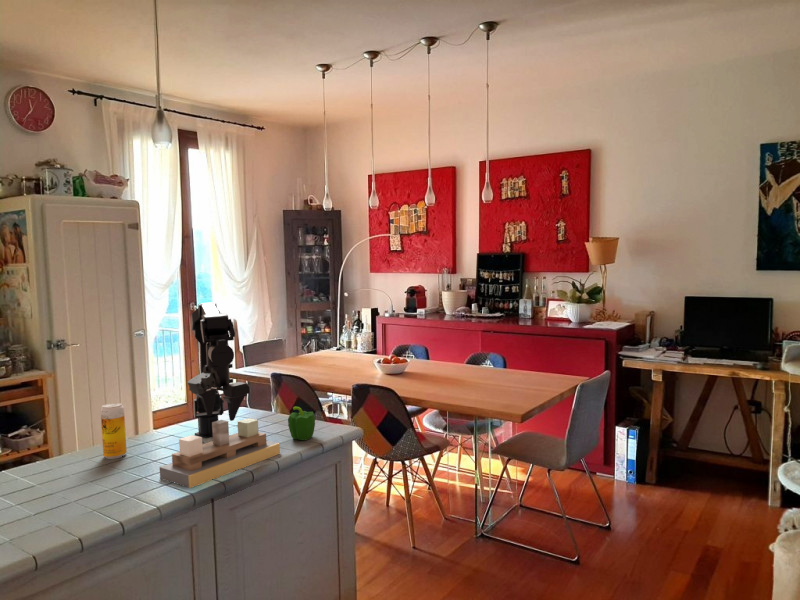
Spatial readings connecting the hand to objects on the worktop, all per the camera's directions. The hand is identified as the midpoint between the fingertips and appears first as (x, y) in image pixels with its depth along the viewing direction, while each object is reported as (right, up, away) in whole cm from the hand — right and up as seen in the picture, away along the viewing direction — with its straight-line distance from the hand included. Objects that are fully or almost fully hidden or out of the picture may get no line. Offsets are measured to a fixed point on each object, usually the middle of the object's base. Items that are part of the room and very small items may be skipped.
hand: (220, 418), depth 163 cm
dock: (0, -13, +1) cm, 13 cm away
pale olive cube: (+5, -6, +8) cm, 12 cm away
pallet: (0, -10, +1) cm, 10 cm away
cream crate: (-5, -8, -7) cm, 12 cm away
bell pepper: (+19, -11, +23) cm, 32 cm away
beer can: (-34, -13, +11) cm, 38 cm away
